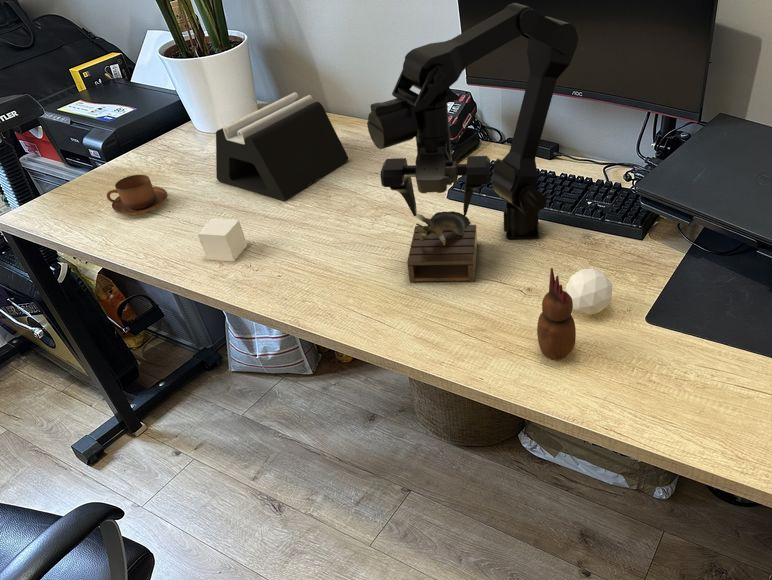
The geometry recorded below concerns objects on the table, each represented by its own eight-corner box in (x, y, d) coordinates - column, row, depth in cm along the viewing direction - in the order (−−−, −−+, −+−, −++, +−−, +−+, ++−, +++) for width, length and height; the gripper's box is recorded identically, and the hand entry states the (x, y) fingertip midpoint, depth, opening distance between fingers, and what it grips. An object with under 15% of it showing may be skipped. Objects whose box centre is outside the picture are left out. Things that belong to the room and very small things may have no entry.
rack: (477, 243, 130) (476, 224, 127) (474, 281, 120) (472, 261, 117) (417, 244, 131) (415, 225, 128) (409, 282, 121) (406, 262, 118)
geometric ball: (575, 317, 115) (561, 274, 114) (620, 303, 113) (605, 259, 112) (571, 324, 108) (556, 278, 107) (619, 309, 105) (603, 262, 105)
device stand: (349, 161, 162) (337, 101, 152) (285, 201, 148) (268, 138, 138) (283, 145, 171) (268, 87, 162) (217, 181, 158) (197, 120, 148)
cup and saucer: (126, 225, 144) (114, 200, 140) (107, 207, 151) (96, 182, 147) (178, 205, 149) (168, 181, 145) (158, 189, 156) (148, 164, 152)
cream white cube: (221, 243, 136) (212, 218, 132) (247, 245, 135) (239, 219, 131) (206, 259, 131) (197, 233, 127) (233, 261, 130) (224, 235, 126)
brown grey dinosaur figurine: (433, 255, 118) (476, 235, 120) (418, 218, 115) (462, 198, 117) (421, 250, 125) (462, 231, 127) (406, 215, 122) (448, 196, 124)
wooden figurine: (534, 339, 107) (534, 263, 97) (568, 336, 107) (573, 259, 97) (541, 367, 102) (542, 290, 92) (577, 364, 102) (583, 286, 92)
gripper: (368, 154, 103) (382, 239, 113) (486, 150, 102) (490, 237, 112) (379, 125, 111) (392, 207, 122) (489, 122, 110) (492, 205, 120)
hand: (440, 214), depth 119 cm, fingers open, 9 cm apart
